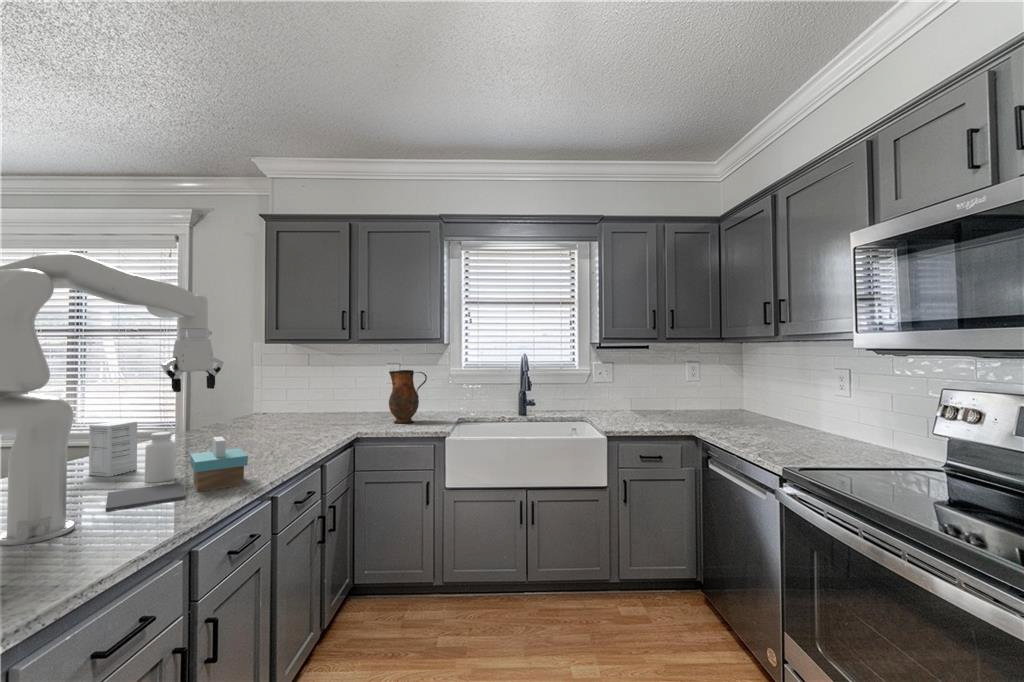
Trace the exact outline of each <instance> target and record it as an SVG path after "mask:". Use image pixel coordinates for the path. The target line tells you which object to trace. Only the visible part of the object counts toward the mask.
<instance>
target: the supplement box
mask: <svg viewBox="0 0 1024 682" xmlns="http://www.w3.org/2000/svg"><path fill="white" fill-rule="evenodd" d="M88 428H89V431H88V433H89V435H88V436H89V437H88V438H89V441H88V443H89V447H88V476H95V477H96V476H97V477H104V478H105V477H106V478H110V477H114V475H115V476H118V474H119V475H122V474H121V473H123V474H126V472H127V473H130V472H129V471H131V472H134V471H133V470H136V471H138V421H127V420H126V421H124V420H115V421H109V422H102V423H101V422H100V423H94V424H89V427H88Z"/></svg>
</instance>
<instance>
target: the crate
mask: <svg viewBox="0 0 1024 682" xmlns="http://www.w3.org/2000/svg"><path fill="white" fill-rule="evenodd" d="M244 475H245V466H239V467H232V468H224V469H217V470H209V471H202V472H194V471H193V481H192V482H193V485H194V486H195V489H196V491H197V492H205V491H210V490H216V489H217V490H218V489H224V488H230V487H237V486H243V485H244V483H245V481H244V480H245V479H244Z"/></svg>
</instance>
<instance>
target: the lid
mask: <svg viewBox="0 0 1024 682" xmlns="http://www.w3.org/2000/svg"><path fill="white" fill-rule="evenodd" d="M226 441H227V440H226V439H225V438H224V437H223V436H214V437H213V436H212V451H203V452H196V453H195V452H193V453H189V458H190V459H189V460H190V461H189V462H190V466H191V468H192V469H193V473H194V472H202V471H209V470H217V469H224V468H232V467H239V466H244V467H247V466H248V463H249V462H248V459H249V457H248V454H247V453H246V452H245V451H244V450H243V449H242V448H239V447H238V448H230V449H227V447H226V445H227V444H226V443H227V442H226Z"/></svg>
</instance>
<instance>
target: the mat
mask: <svg viewBox="0 0 1024 682" xmlns="http://www.w3.org/2000/svg"><path fill="white" fill-rule="evenodd" d="M184 499H186V494H185V492H184V490H183V487H182V484H181V482H172V483H165V484H159V485H152V486H151V485H150V486H144V487H137V488H130V489H123V490H117V491H108V492H107V499H106V504H105V512H110V511H116V509H118V510H122V508H124V509H129V507H130V508H135V506H136V507H142V506H141V505H143V506H148V504H149V505H155V504H160V503H165V502H172V501H177V500H179V501H180V500H184ZM154 503H155V504H154Z"/></svg>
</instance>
